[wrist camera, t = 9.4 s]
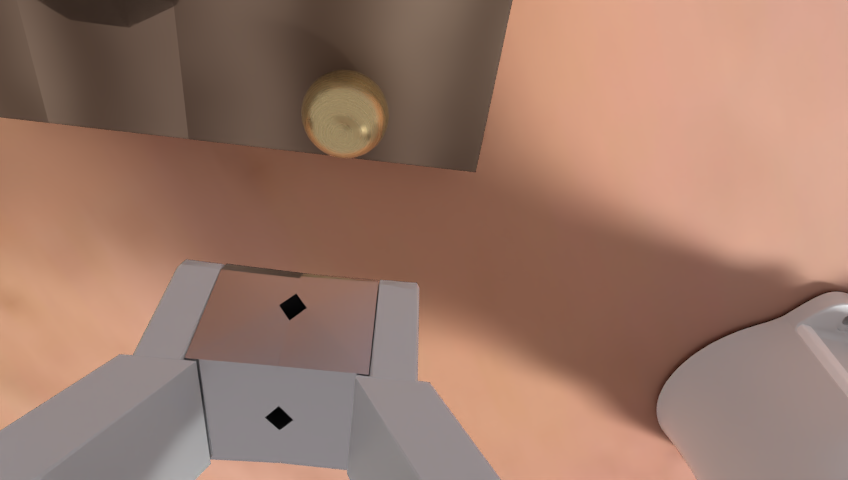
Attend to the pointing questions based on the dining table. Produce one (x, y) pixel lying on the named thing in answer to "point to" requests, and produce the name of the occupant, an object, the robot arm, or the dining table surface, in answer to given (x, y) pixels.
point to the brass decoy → (345, 113)
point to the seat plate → (255, 68)
